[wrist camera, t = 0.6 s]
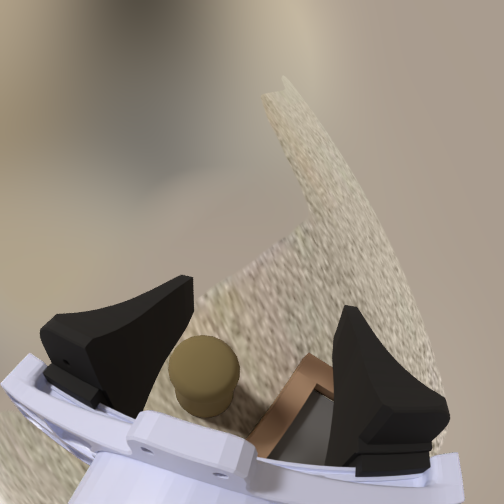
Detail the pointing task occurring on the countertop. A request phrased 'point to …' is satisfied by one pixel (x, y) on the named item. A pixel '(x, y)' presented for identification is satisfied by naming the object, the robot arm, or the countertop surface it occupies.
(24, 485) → the countertop surface
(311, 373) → the holder
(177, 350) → the cork
